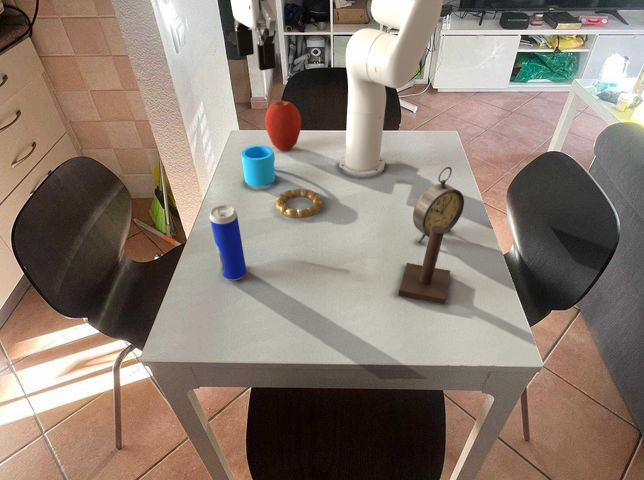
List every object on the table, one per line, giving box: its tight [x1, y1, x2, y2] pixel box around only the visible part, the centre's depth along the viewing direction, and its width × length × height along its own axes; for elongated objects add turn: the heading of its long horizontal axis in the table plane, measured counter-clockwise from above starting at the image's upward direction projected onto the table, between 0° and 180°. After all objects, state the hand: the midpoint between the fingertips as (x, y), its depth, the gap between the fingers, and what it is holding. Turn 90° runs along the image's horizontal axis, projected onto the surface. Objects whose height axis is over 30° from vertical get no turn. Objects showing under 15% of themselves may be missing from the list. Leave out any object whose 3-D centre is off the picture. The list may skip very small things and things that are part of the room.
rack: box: [397, 226, 451, 306], centre depth 82 cm, size 9×9×14 cm
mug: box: [240, 144, 276, 187], centre depth 113 cm, size 12×8×8 cm
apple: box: [264, 97, 302, 152], centre depth 123 cm, size 10×10×14 cm
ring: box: [274, 188, 324, 219], centre depth 106 cm, size 12×12×2 cm
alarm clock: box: [412, 166, 465, 244], centre depth 92 cm, size 11×5×16 cm, turn 117°
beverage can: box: [209, 204, 247, 282], centre depth 85 cm, size 5×5×15 cm
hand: (256, 61), depth 82 cm, fingers open, 9 cm apart
